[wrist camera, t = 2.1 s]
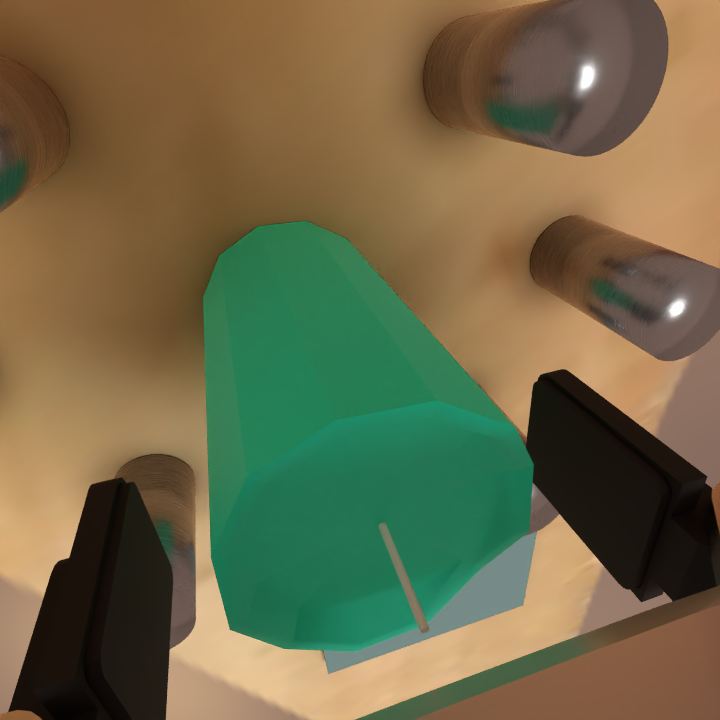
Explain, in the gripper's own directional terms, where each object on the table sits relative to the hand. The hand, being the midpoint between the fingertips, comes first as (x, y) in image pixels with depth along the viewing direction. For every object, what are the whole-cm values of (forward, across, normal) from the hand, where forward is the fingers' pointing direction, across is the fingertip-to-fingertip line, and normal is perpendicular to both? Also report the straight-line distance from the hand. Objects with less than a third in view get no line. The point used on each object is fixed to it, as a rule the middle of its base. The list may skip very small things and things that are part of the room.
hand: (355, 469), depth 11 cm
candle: (+8, 0, -1) cm, 8 cm away
